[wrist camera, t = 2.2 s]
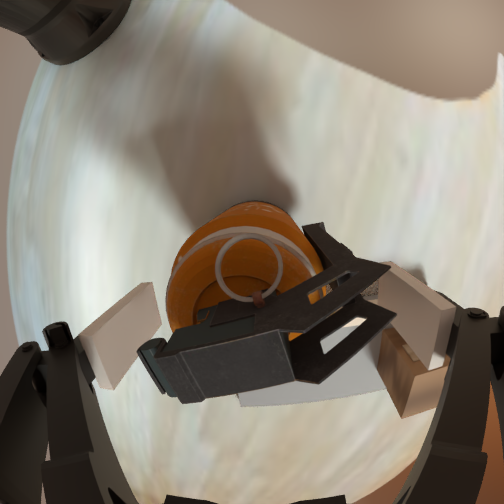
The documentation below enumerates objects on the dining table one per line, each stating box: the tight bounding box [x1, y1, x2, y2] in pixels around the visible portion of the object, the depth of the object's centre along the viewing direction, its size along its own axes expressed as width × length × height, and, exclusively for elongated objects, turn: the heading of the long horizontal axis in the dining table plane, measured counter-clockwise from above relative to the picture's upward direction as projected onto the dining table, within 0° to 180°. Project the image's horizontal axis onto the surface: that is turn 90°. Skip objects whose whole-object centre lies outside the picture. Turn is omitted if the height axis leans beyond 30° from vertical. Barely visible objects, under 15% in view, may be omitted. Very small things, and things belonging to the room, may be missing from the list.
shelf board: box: [238, 294, 394, 407], centre depth 28 cm, size 14×24×4 cm, turn 96°
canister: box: [136, 201, 397, 404], centre depth 18 cm, size 9×11×20 cm
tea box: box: [377, 328, 450, 419], centre depth 24 cm, size 6×6×9 cm
